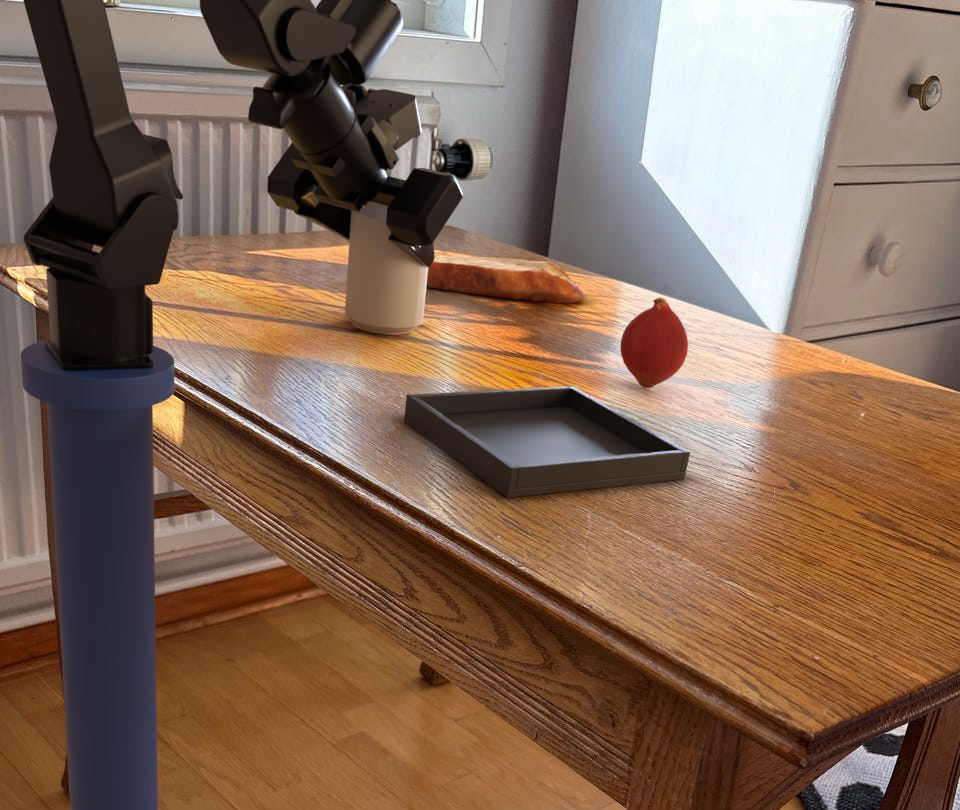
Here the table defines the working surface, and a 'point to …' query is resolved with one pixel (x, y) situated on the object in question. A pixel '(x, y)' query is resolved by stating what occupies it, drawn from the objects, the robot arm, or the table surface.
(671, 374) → the onion
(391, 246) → the can
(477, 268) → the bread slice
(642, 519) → the table surface
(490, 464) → the tray
